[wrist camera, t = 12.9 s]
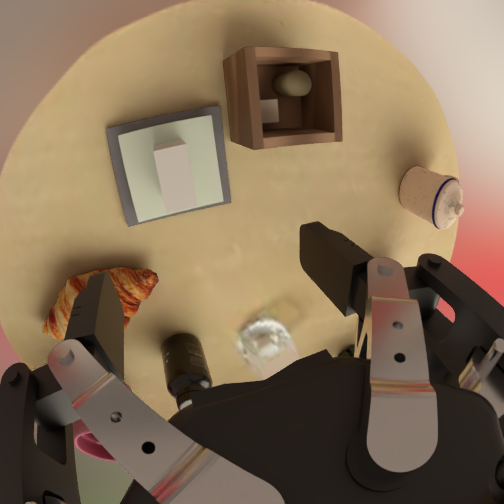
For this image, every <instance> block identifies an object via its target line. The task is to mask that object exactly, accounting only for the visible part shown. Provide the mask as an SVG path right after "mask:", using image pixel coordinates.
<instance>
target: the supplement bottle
mask: <svg viewBox="0 0 504 504" xmlns="http://www.w3.org/2000/svg"><path fill="white" fill-rule="evenodd" d="M162 359H163V365H164V372H165V378H166V384H167V389H168V392H169V393H170V395H171V396H173V397H174V398H176V403H177V406H178V409H179V411H180V410H181V409H183V408H184V407H186V406H188V405H190V404H192V401H191V397H190V393H192V392H196V391H200V390H204V389H208V388H212V384H213V383H212V379H211V375H210V372H209V369H208V365H207V362H206V358H205V355H204V351H203V348H202V345H201V343H200V341H199V340H198V339H197V338H196V337H194V336H191V335H188V334H178V335H174V336H172V337H170V338H168V339H167V340H166V341H165V342H164V344H163V345H162Z"/></svg>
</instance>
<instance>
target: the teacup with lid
mask: <svg viewBox="0 0 504 504" xmlns="http://www.w3.org/2000/svg"><path fill="white" fill-rule="evenodd" d="M399 197H400V202H401V204H402V206H403V207H404V208H405V209H406V210H408V211H410V212H412V213H414V214H416V215H417V216H419V217H421V218H423V219H425V220H426V221H428V222H430V223H432V224H434V226H435V227H436V228H438V229H446V228H448V227H450V226H451V225H452V224H453V223H454V221H455V220H456V218H457V216H461V215H462V214H463V212H464V207H463V205H462V199H463V192H462V187H461V185H460V183H459V180H458V179H457V178H456V177H453V176H449V175H440V174H438V173H435V172H433V171H430V170H428V169H425V168H422V167H419V166H416V167H413V168H411V169H410V170H408V171H407V173H406V174H405V175H404V177H403V179H402V182H401V185H400V191H399Z"/></svg>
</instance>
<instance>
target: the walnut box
mask: <svg viewBox="0 0 504 504" xmlns="http://www.w3.org/2000/svg"><path fill="white" fill-rule="evenodd" d="M223 67H224V77H225V87H226V96H227V106H228V115H229V125H230V134H231V141H232V142H234V143H237V144H240V145H242V146H245V147H247V148H250V149H253V150H258V149H265V148H274V147H282V146H291V145H301V144H313V143H326V142H342V107H341V87H340V72H339V60H338V52H331V51H323V50H313V49H301V48H284V47H244V48H242V49H241V50H239V51H238V52H236V53H235V54H233V55H232V56H230V57H229V58H227V59H226V60H224V61H223Z"/></svg>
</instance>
